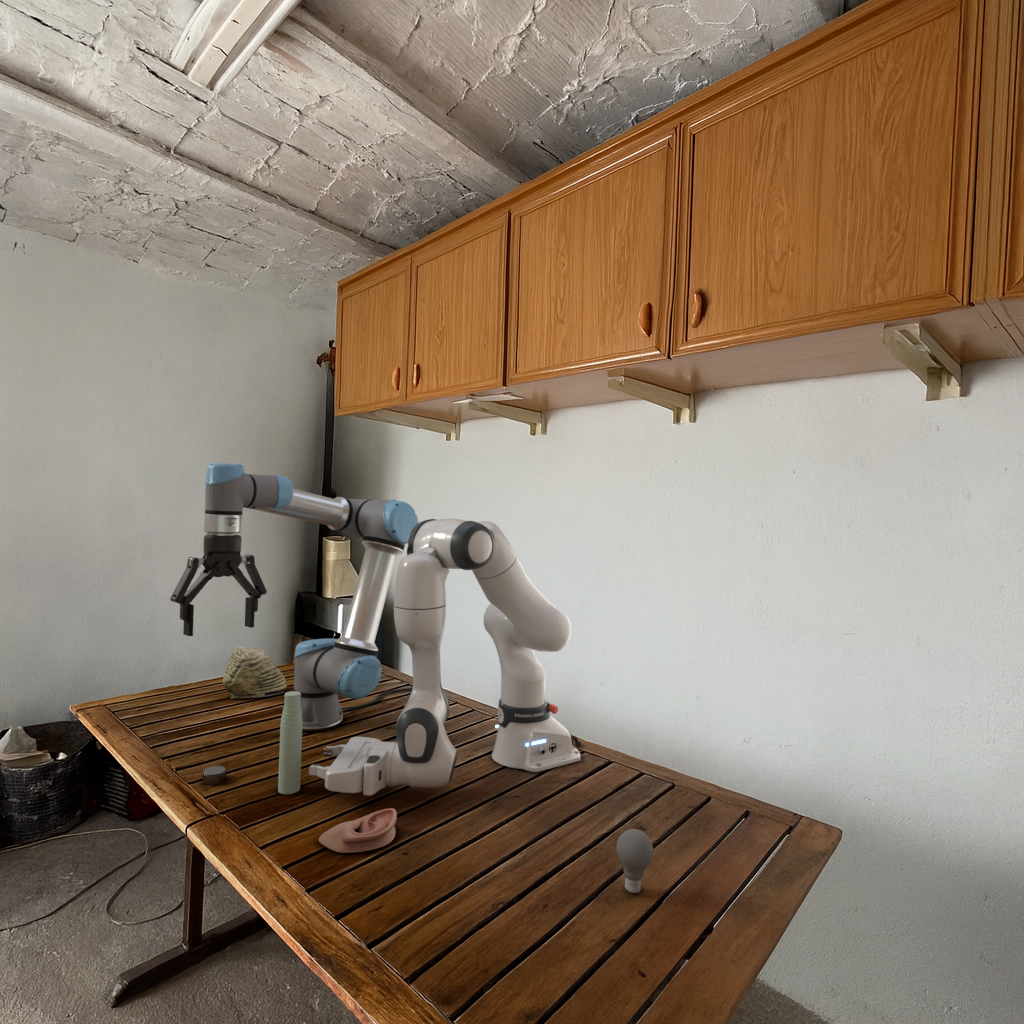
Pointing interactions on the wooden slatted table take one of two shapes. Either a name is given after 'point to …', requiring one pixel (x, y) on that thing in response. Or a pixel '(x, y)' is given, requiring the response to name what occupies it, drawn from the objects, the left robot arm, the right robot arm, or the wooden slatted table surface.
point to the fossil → (252, 674)
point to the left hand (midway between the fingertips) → (219, 630)
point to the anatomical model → (362, 833)
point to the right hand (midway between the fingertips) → (317, 760)
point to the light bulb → (634, 857)
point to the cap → (214, 775)
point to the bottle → (290, 744)
